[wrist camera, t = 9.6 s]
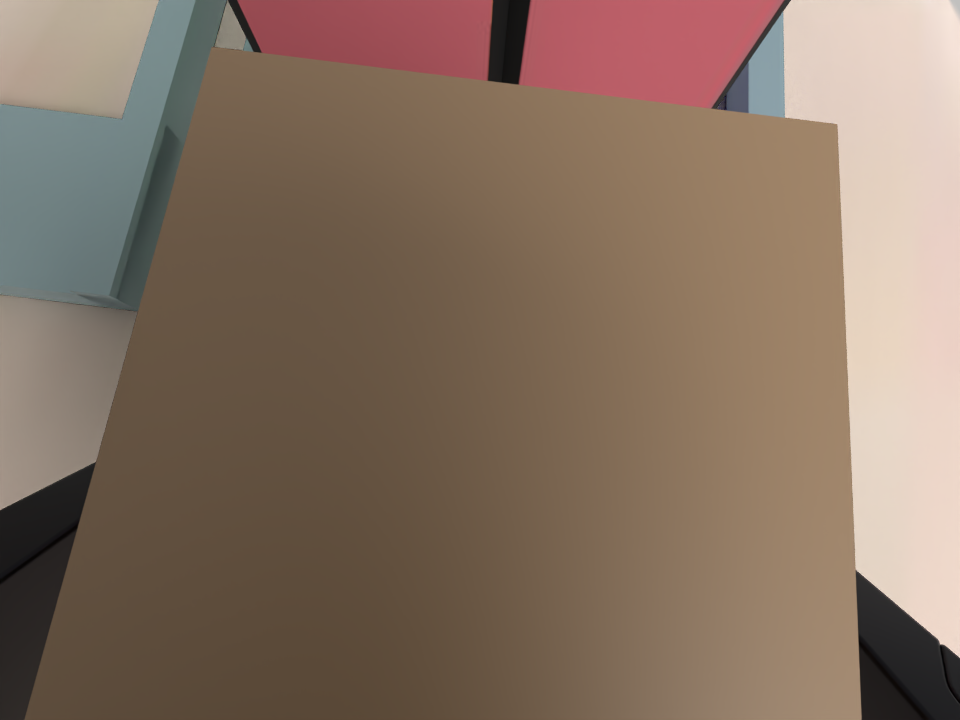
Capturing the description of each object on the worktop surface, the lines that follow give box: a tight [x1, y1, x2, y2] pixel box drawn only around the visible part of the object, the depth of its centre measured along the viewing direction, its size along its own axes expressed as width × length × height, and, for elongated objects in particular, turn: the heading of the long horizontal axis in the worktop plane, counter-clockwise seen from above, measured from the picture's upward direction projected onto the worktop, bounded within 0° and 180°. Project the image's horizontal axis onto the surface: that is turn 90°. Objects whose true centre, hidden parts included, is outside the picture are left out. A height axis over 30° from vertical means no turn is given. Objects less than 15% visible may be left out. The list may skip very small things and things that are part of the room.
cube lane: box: [24, 12, 862, 720], centre depth 11 cm, size 23×18×13 cm
